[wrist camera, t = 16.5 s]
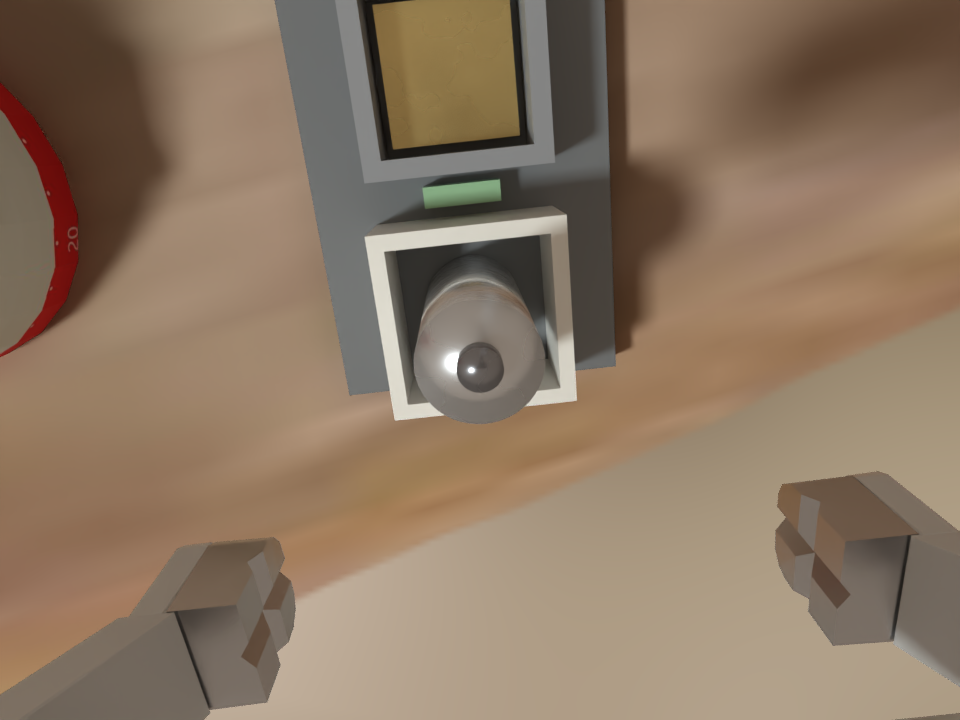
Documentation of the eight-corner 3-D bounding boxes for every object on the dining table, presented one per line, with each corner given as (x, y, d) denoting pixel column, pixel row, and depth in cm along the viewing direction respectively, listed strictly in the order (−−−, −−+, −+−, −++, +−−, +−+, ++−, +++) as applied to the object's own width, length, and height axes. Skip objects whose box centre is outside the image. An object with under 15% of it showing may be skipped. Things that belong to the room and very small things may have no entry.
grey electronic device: (595, -39, 23) (629, -84, 19) (609, 357, 28) (637, 396, 24) (281, -5, 23) (239, -41, 19) (354, 385, 28) (334, 429, 24)
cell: (515, 250, 25) (543, 297, 17) (523, 341, 27) (552, 424, 18) (420, 260, 25) (402, 312, 17) (432, 350, 27) (421, 438, 18)
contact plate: (507, -7, 22) (508, -11, 21) (518, 135, 23) (519, 135, 23) (374, 8, 22) (372, 4, 21) (394, 149, 23) (392, 149, 23)
